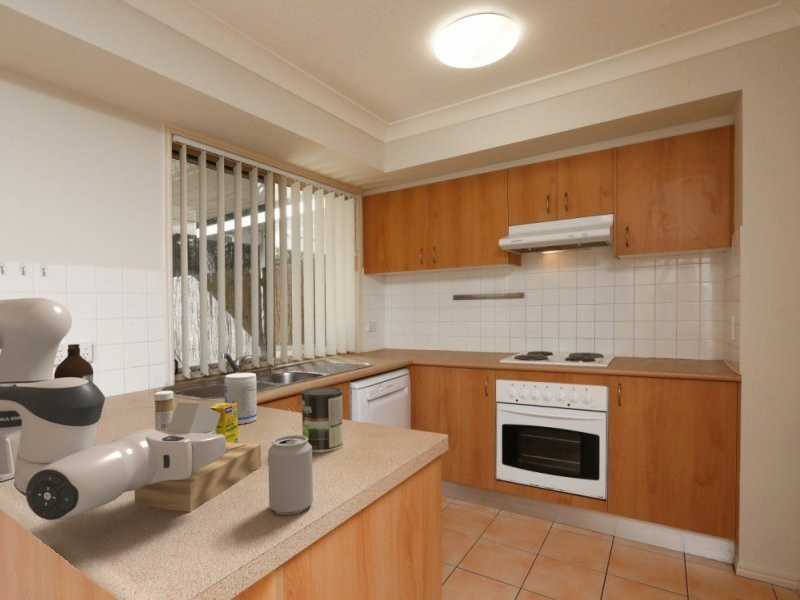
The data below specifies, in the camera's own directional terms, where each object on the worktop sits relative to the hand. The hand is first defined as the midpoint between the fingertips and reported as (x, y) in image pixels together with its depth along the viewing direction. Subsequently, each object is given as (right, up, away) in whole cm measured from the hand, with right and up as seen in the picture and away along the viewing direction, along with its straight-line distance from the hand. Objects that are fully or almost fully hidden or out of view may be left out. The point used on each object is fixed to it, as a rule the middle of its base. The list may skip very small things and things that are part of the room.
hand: (199, 433), depth 88 cm
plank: (+1, -10, +1) cm, 10 cm away
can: (+21, -10, -10) cm, 25 cm away
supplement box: (-5, -11, +24) cm, 27 cm away
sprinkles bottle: (-24, -12, +31) cm, 41 cm away
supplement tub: (-10, -12, +51) cm, 53 cm away
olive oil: (-69, -13, +60) cm, 92 cm away
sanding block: (-1, -4, -5) cm, 6 cm away
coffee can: (+21, -10, +23) cm, 33 cm away
